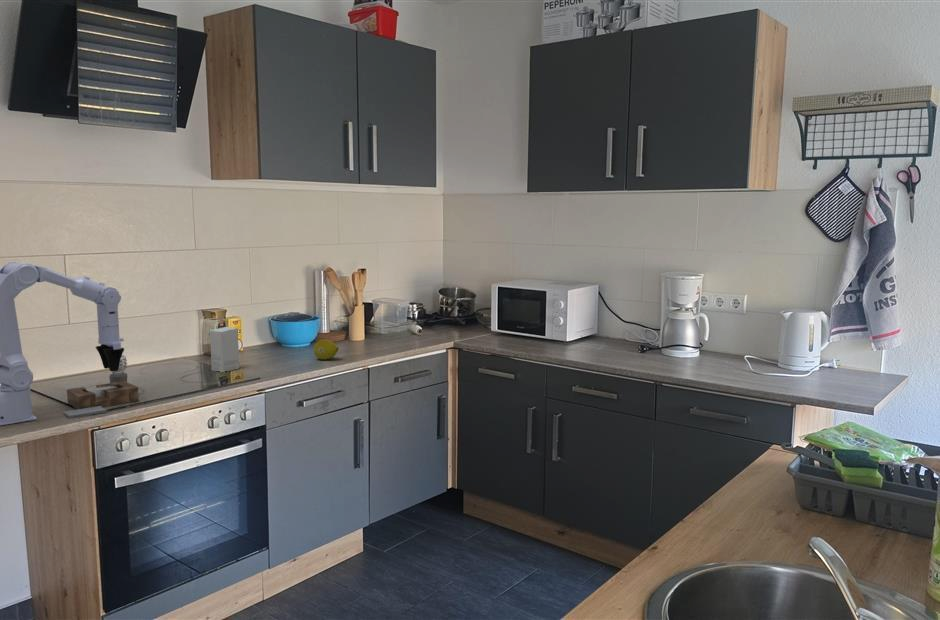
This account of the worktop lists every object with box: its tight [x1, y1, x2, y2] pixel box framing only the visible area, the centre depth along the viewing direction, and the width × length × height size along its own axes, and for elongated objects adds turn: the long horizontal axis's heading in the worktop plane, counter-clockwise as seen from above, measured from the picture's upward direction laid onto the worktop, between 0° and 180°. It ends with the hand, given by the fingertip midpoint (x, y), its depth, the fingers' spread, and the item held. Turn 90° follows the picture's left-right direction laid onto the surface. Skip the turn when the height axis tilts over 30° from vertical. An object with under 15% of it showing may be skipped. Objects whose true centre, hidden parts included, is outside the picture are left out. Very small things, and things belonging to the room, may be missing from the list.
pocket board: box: [66, 381, 140, 410], centre depth 229 cm, size 17×12×4 cm
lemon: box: [313, 339, 339, 361], centre depth 297 cm, size 11×8×8 cm
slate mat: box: [62, 406, 108, 420], centre depth 217 cm, size 10×6×1 cm, turn 133°
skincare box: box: [209, 326, 240, 373], centre depth 276 cm, size 8×7×16 cm
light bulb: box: [108, 354, 128, 383], centre depth 244 cm, size 6×6×12 cm
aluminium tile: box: [85, 386, 117, 399], centre depth 229 cm, size 8×4×2 cm, turn 133°
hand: (111, 369), depth 230 cm, fingers open, 5 cm apart
